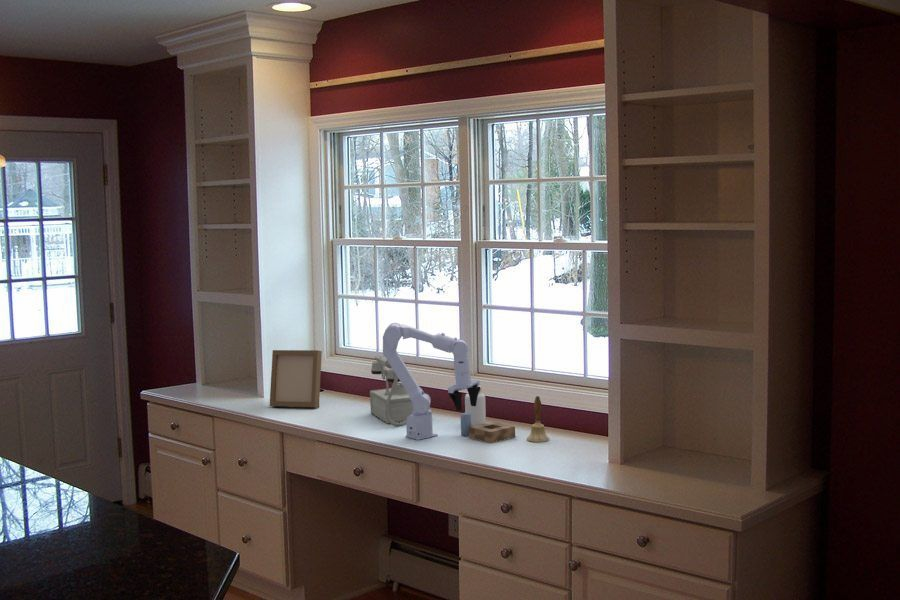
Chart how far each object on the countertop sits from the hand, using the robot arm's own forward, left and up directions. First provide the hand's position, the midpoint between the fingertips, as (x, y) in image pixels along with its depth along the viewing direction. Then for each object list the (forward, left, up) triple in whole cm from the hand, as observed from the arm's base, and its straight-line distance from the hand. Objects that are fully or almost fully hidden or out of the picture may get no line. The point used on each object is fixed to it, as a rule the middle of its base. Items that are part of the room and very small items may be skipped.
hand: (466, 408), depth 366 cm
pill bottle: (+13, +11, -10) cm, 20 cm away
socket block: (+3, -10, -10) cm, 15 cm away
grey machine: (0, +44, -10) cm, 45 cm away
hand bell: (+12, -25, -10) cm, 30 cm away
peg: (-1, 0, -10) cm, 10 cm away
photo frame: (-15, +99, -10) cm, 100 cm away
